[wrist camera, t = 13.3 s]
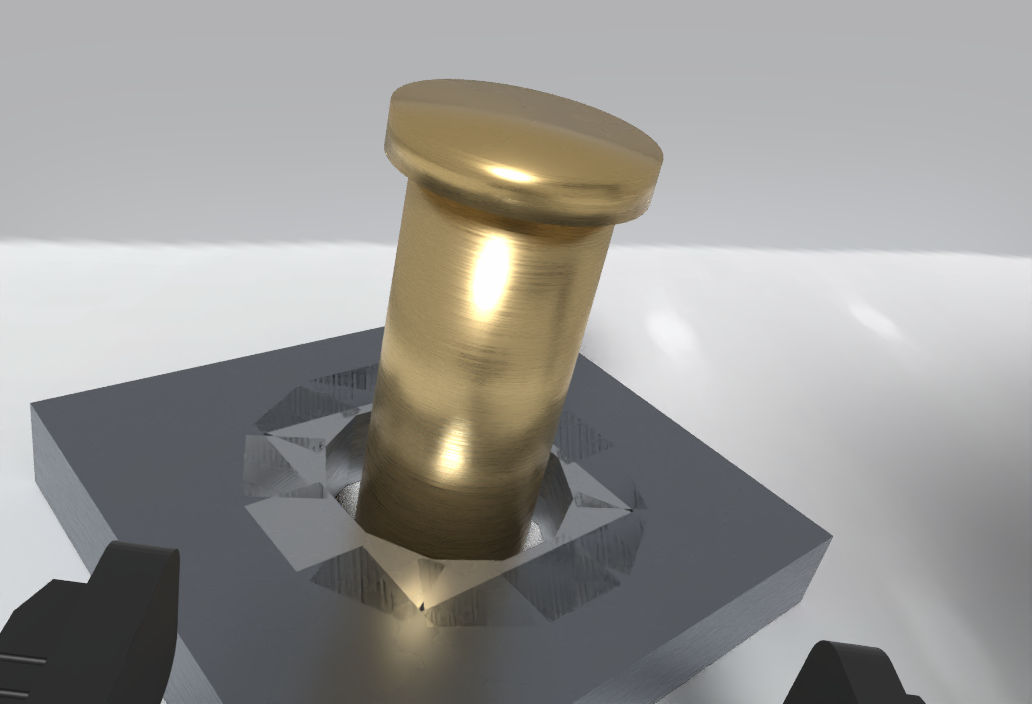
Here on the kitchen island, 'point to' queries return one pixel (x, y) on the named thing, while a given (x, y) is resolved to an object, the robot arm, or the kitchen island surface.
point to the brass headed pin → (488, 304)
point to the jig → (405, 574)
